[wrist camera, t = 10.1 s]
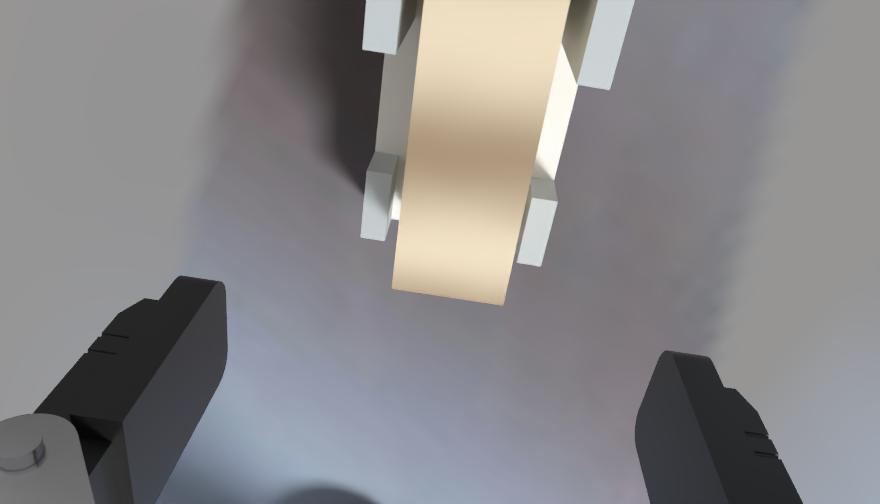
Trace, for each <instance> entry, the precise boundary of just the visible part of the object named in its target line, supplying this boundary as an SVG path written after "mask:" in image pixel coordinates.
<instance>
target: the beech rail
mask: <svg viewBox="0 0 880 504" xmlns="http://www.w3.org/2000/svg"><path fill="white" fill-rule="evenodd" d="M569 5H570V0H424V4H423V13H422V22H421V30H420V39H419V48H418V57H417V66H416V75H415V84H414V93H413V102H412V111H411V120H410V129H409V138H408V147H407V156H406V165H405V174H404V183H403V192H402V201H401V210H400V219H399V228H398V237H397V245H396V254H395V263H394V272H393V281H392V289H397V290H404V291H410V292H417V293H424V294H430V295H437V296H443V297H450V298H457V299H463V300H470V301H477V302H483V303H490V304H496V305H503V304H504V300H505V295H506V291H507V286H508V281H509V277H510V272H511V268H512V263H513V259H514V254H515V250H516V245H517V241H518V236H519V232H520V227H521V222H522V218H523V213H524V209H525V204H526V200H527V195H528V191H529V186H530V182H531V177H532V172H533V168H534V163H535V159H536V154H537V150H538V145H539V141H540V136H541V132H542V127H543V123H544V118H545V113H546V109H547V104H548V100H549V95H550V91H551V86H552V82H553V77H554V73H555V68H556V64H557V59H558V54H559V50H560V45H561V41H562V36H563V32H564V27H565V23H566V18H567V14H568V9H569Z"/></svg>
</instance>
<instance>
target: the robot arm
mask: <svg viewBox="0 0 880 504" xmlns="http://www.w3.org/2000/svg"><path fill="white" fill-rule="evenodd" d="M227 351H228V345H227V314H226V290H225V286H224V284H223V282H220V281H214V280H207V279H200V278H194V277H187V276H179V277H177V278H176V279H175V280H174V282H173V283H172V284H171V285H170V287H169V288H168V289H167V290H166V292H165V293H164V294H163V296H162V297H161V298H160V299H159V300H152V299H146V298H144V299H143V300H141V301H139V302H138V303H136V304H134V305H132V306H131V307H129V308H127V309H125V310H124V311H122V312H120V313H119V314H118V315H117V316H116V317H115V318H114V320H113V321H112V322H111V323H110V324H109V325H108V326H107V328H106V329H105V330H104V331H103V332H102V336H101V337H98V338H97V339H96V340H95V342H94V343H93V344H92V345H91V346H90V347H89V349H88V353H84V354H83V356H82V357H81V358H80V359H79V360H78V361H77V363H76V364H75V365H74V366H73V367H72V368H71V370H70V371H69V372H68V373H67V374H66V375H65V377H64V378H63V379H62V380H61V381H60V383H59V384H58V385H57V386H56V387H55V388H54V389H53V391H52V392H51V393H50V394H49V395H48V397H47V398H46V399H45V400H44V401H43V402H42V404H41V405H40V406H39V407H38V408H37V409H36V410H35V412H34V413H33V414H26V415H20V416H16V417H13V418H9V419H6V420H3V421H1V422H0V504H155V502H156V501H157V499H158V497H159V495H160V493H161V491H162V489H163V488H164V486H165V484H166V482H167V480H168V478H169V476H170V475H171V473H172V471H173V469H174V467H175V465H176V463H177V462H178V460H179V458H180V456H181V454H182V452H183V450H184V449H185V447H186V445H187V443H188V441H189V439H190V437H191V436H192V434H193V432H194V430H195V428H196V426H197V424H198V423H199V421H200V419H201V417H202V415H203V413H204V411H205V410H206V408H207V406H208V404H209V402H210V400H211V398H212V397H213V395H214V393H215V391H216V389H217V387H218V385H219V383H220V381H221V379H222V376H223V373H224V370H225V366H226V360H227ZM768 436H769V434H768V432H767V430H766V429H765V426H764V424H763V422H762V420H761V418H760V416H759V414H758V412H757V411H756V410H755V409H754V408H753V407H752V406H751V405H750V404H749V403H748V402H747V400H746V399H745V398H744V397H743V396H742V395H741V394H740V393H739V392H738V391H737V390H736V389H732V388H725V387H724V386H723V384H722V382H721V380H720V377H719V375H718V373H717V371H716V369H715V367H714V364H713V362H712V361H711V359H710V358H709V357H706V356H700V355H693V354H687V353H680V352H674V351H664V352H663V353H662V354H661V356H660V357H659V360H658V362H657V365H656V367H655V370H654V372H653V375H652V378H651V380H650V383H649V385H648V388H647V390H646V393H645V396H644V398H643V401H642V403H641V406H640V409H639V411H638V414H637V419H636V425H635V444H636V449H637V453H638V457H639V461H640V465H641V469H642V473H643V477H644V481H645V484H646V488H647V492H648V496H649V500H650V504H803V503H802V500H801V498H800V496H799V494H798V493H797V490H796V488H795V486H794V484H793V482H792V480H791V478H790V476H789V474H788V473H787V470H786V468H785V467H784V464H783V463H782V460H780V459H778V455H779V454H778V452H777V450H776V448H775V447H774V444H773V442H772V441H771V440H770V439H768Z"/></svg>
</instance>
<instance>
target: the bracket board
mask: <svg viewBox="0 0 880 504" xmlns="http://www.w3.org/2000/svg"><path fill="white" fill-rule="evenodd" d="M634 1H635V0H570V5H569V9H568V14H567V18H566V23H565V27H564V32H563V36H562V41H561V45H560V50H559V54H558V59H557V64H556V68H555V73H554V77H553V82H552V86H551V91H550V95H549V100H548V104H547V109H546V113H545V118H544V123H543V127H542V132H541V136H540V141H539V145H538V150H537V154H536V159H535V163H534V168H533V172H532V177H531V182H530V186H529V191H528V195H527V200H526V204H525V209H524V213H523V218H522V222H521V227H520V232H519V236H518V241H517V245H516V257H517V263H522V264H529V265H535V266H541V264H542V260H543V256H544V252H545V248H546V245H547V241H548V237H549V233H550V229H551V225H552V222H553V218H554V214H555V210H556V206H557V203H558V201H557V195H556V189H555V184H554V178H555V174H556V170H557V166H558V162H559V158H560V155H561V151H562V147H563V143H564V139H565V135H566V131H567V127H568V123H569V119H570V115H571V111H572V107H573V103H574V99H575V95H576V91H577V88H578V85H582V86H588V87H595V88H601V89H607V90H610V87H611V83H612V80H613V76H614V73H615V69H616V65H617V62H618V58H619V55H620V51H621V48H622V44H623V40H624V37H625V33H626V30H627V26H628V23H629V19H630V15H631V12H632V8H633V5H634ZM423 4H424V0H366V9H365V22H364V34H363V47H362V49H363V50H369V51H375V52H381V53H385V55H384V65H383V75H382V85H381V95H380V106H379V116H378V126H377V136H376V146H375V153H374V155H373V157H372V160H371V162H370V164H369V167H368V169H367V173H366V184H365V195H364V206H363V217H362V227H361V237H362V238H368V239H374V240H380V241H385V238H386V235H387V232H388V228H389V225H390V222H391V219H396V220H399V219H400V210H401V201H402V192H403V183H404V174H405V165H406V156H407V147H408V138H409V129H410V120H411V111H412V102H413V93H414V84H415V75H416V66H417V57H418V48H419V39H420V30H421V22H422V13H423Z"/></svg>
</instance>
